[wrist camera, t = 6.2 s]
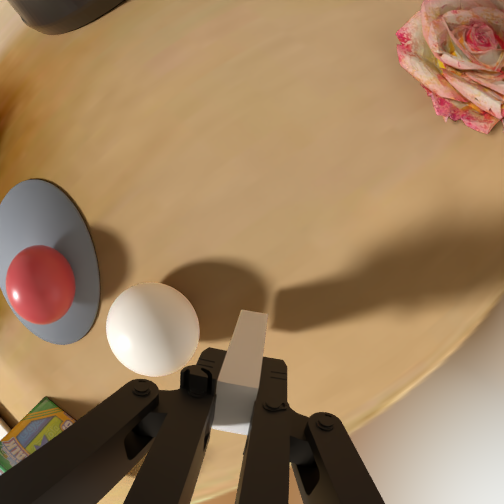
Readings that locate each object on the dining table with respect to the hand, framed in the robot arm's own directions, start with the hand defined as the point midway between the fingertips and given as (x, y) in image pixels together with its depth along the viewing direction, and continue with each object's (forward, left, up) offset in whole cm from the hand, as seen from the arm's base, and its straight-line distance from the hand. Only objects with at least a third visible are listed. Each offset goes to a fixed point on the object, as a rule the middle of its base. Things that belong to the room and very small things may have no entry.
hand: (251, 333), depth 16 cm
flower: (-18, +10, -2) cm, 21 cm away
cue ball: (+1, -6, +1) cm, 6 cm away
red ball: (0, -15, +1) cm, 15 cm away
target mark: (0, -18, -2) cm, 18 cm away
